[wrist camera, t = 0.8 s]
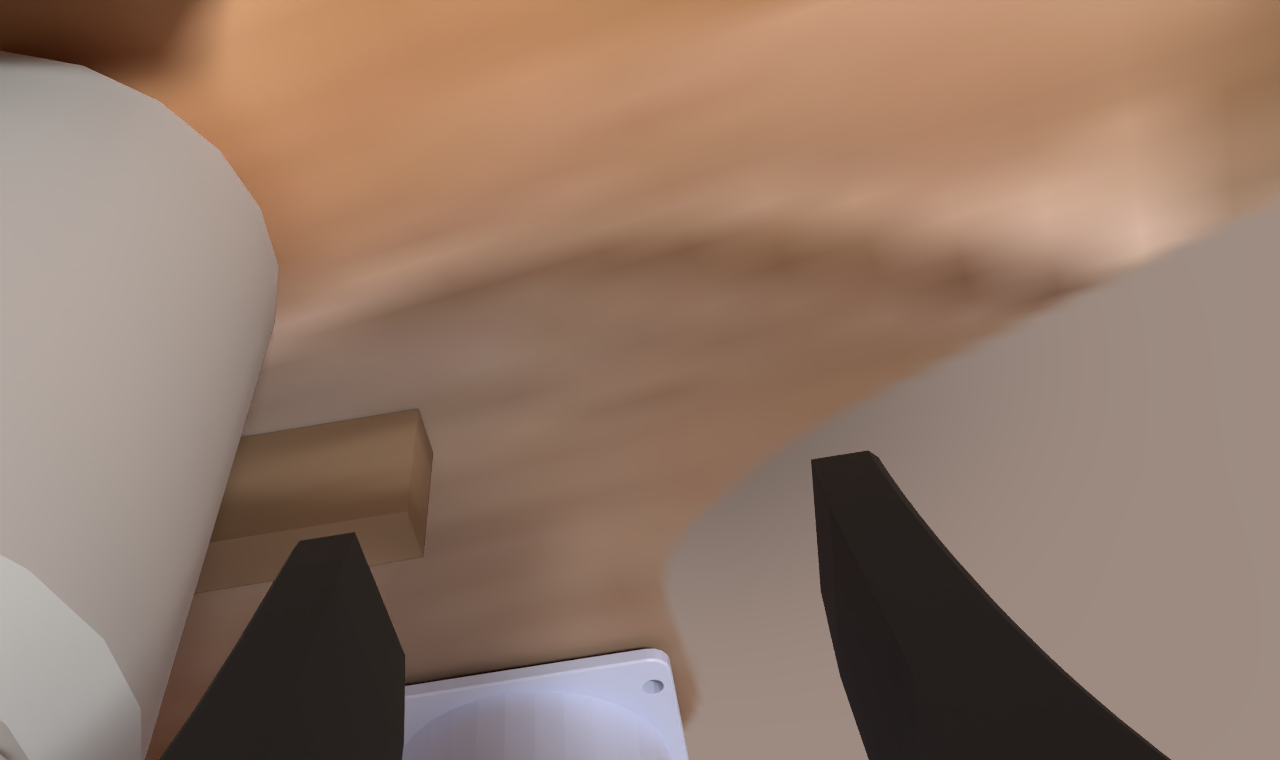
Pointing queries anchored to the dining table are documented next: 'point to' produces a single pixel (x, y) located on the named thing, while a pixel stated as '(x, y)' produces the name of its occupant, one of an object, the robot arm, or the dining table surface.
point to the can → (112, 396)
